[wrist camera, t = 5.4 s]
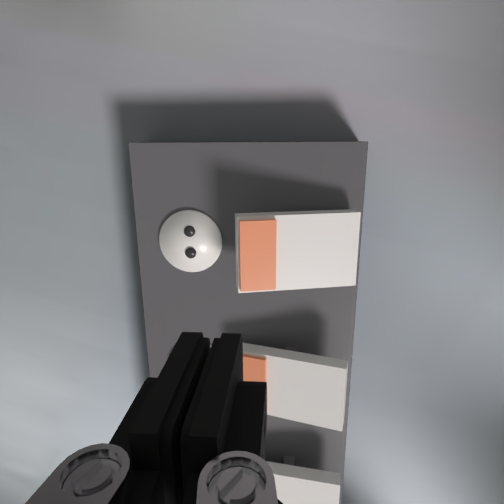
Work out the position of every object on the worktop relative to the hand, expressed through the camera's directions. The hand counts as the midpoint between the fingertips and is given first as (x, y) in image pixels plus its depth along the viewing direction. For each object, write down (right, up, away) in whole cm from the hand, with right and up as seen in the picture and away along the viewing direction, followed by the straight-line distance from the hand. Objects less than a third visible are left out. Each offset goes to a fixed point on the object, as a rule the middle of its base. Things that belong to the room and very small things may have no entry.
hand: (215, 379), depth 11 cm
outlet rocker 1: (+4, -5, +15) cm, 16 cm away
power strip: (+1, -8, +20) cm, 22 cm away
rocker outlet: (+4, +4, +12) cm, 13 cm away
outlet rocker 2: (+4, -14, +17) cm, 22 cm away
